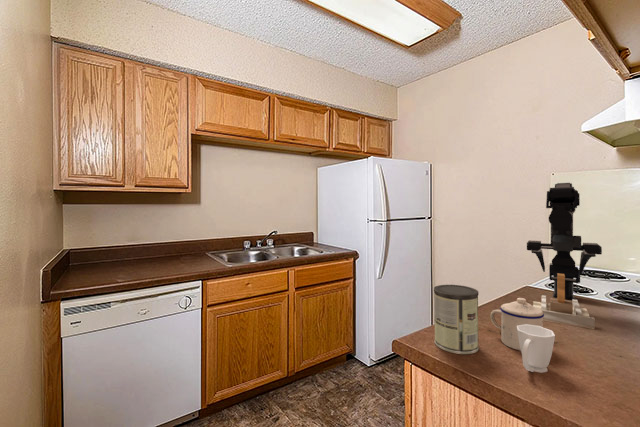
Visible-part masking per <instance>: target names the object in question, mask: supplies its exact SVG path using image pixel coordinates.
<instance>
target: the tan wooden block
mask: <svg viewBox="0 0 640 427" xmlns="http://www.w3.org/2000/svg"><path fill="white" fill-rule="evenodd" d="M549 301H550V302H549V304H550V311H554V312H560V313H567V314H573V305H572V300H570V299H565V275H564V274H559V273H557V297H556V298H555V297H550V299H549Z"/></svg>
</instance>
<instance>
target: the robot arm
mask: <svg viewBox="0 0 640 427" xmlns="http://www.w3.org/2000/svg"><path fill="white" fill-rule="evenodd" d="M580 201H581V200H580V192H579V190H577V189H576V188H575V187H574V186H573V184H572V182H560V183H559V182H557V183H554V187H549V190H548V191H546V202H545V204H546V205H545V206H546V207H545V208H546V209H551V211H550V214H549V215H548V222H549V224H550V243H546V242H545V243H542V240H532V239H531V240H528V241H527V242H526V251H531V253H532V254H535V255H536V257H537V259H538V262H539V263H540V266H541V268H542V271H543V273H545V272H546V266H545V261H544V260H545V259H544V253H543V249H544V250H553V251H555V252H556V254H555V256H554V257H553V258H552V259H551V264H549V269H548V270H549V272H548V273H549V281H553V292H552V298H557V273H559V274H564V275H565V300H572V299H574V300H576V297H575V294H574V284H579V283H581V276H582V274H583V271H584V269H585V267H586V265H587V264H588V262H589V260H590V259H591V258H595V257H597V255H602V254H603V250H602V249H603V248H602V246H601V245H600V244H598V243H596V242H583V243H582V236H581V235H574V213H576V209H577V208H578V207H579V206H580V203H581V202H580ZM580 207H581V206H580ZM573 251H575V252H576V251H580V253H581V254H580V258H579V260H580V261H579V267H578V266H576V261H575V260H574V259H573V256H571V253H572V252H573Z"/></svg>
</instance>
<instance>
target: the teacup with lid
mask: <svg viewBox="0 0 640 427" xmlns="http://www.w3.org/2000/svg"><path fill="white" fill-rule="evenodd" d="M496 313H497V314H501V320H500V322H501V325H500V324H499V323H498V322H497V321H496V318H495V316H496V315H495V314H496ZM489 317H490V321H491V323H492V325H493V326H495V328H497V329H499V330H500V331H501V338H500V339H501V342H502V343H503V344H504V345H505V346H506V347H508V348H510V349H513V350H516V351H519V352H521V349H520V343H519V337H518V331H517V326H518V325H525V324H528V325H535V326H541V327H543V326H544V320H543V317H544V314H543V312H542V310H540V309H539V308H536V307H534V306H533V304H531V303H529V302H527V299H526V298H523V297H518V298H516V301H511V302H508V303H503V304H501V305H500V308H499V309H494V310H491V312H490V316H489ZM543 328H544V327H543Z"/></svg>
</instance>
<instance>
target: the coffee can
mask: <svg viewBox="0 0 640 427" xmlns="http://www.w3.org/2000/svg"><path fill="white" fill-rule="evenodd" d="M433 292H434V293H433V295H434V296H433V298H434V299H433V301H434V302H433V303H434V304H433V306H434V308H433V309H434V310H433V312H434V345H436V347H438V348H439V349H440V350H443V351H445V352H448V353H451V354H452V353H453V354H458V355H471V354H475V353H477V352H478V351H479V350H480V349H479V292H480V291H479V290H478V289H476V288H473V287H470V286H465V285H461V284H459V285H458V284H439V285H436V286H434V287H433Z"/></svg>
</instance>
